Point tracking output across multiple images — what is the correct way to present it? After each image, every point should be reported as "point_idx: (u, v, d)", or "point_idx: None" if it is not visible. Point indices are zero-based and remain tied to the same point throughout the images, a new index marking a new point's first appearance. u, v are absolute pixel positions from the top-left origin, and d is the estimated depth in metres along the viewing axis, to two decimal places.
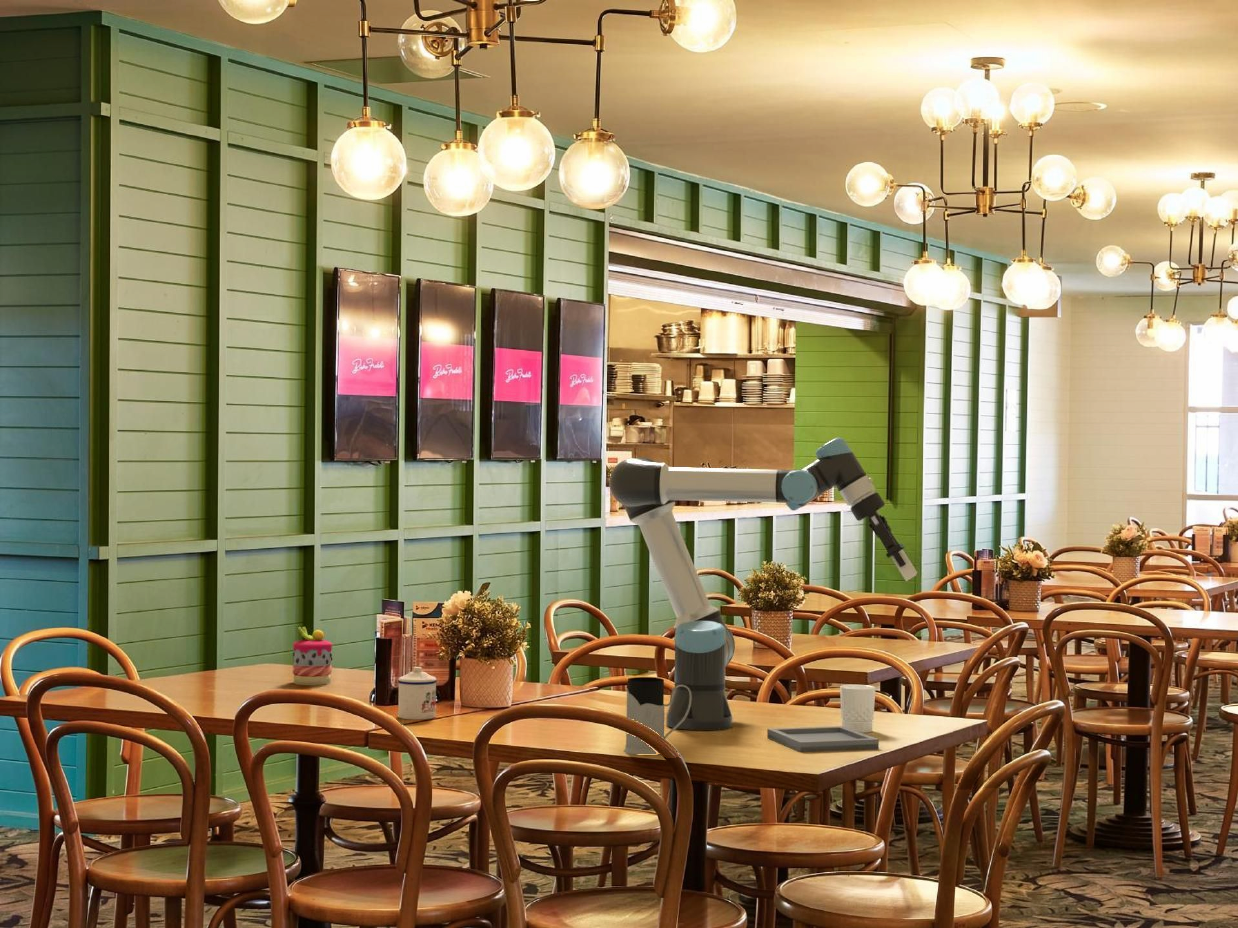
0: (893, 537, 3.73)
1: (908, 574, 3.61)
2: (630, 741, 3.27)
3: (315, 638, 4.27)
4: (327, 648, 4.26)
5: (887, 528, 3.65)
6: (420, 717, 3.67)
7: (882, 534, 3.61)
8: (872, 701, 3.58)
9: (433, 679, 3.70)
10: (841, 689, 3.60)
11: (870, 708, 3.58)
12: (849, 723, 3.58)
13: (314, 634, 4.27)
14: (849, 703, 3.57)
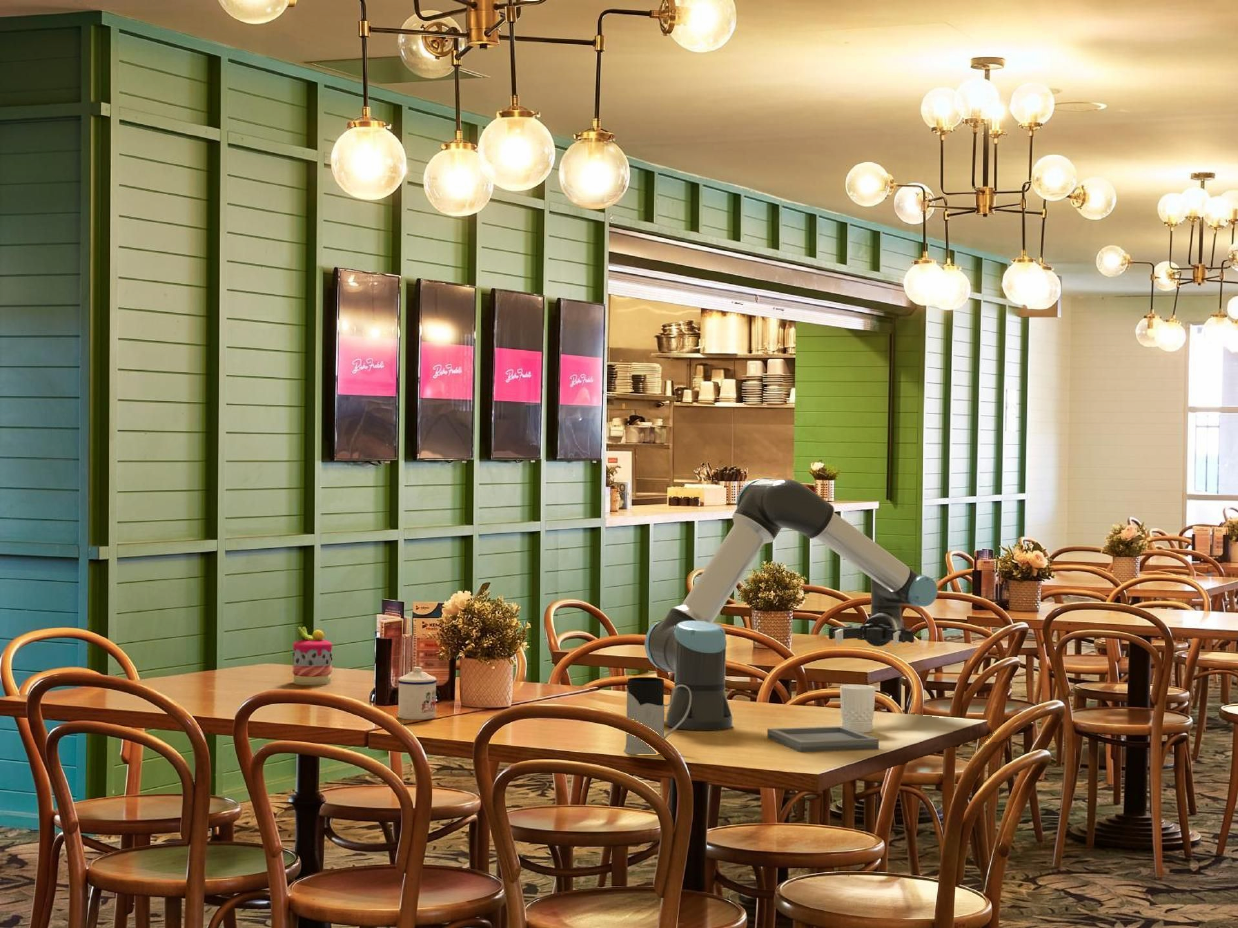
0: (853, 637, 3.81)
1: (897, 638, 3.68)
2: (630, 741, 3.27)
3: (315, 638, 4.27)
4: (327, 648, 4.26)
5: (891, 639, 3.80)
6: (420, 717, 3.67)
7: None
8: (872, 701, 3.58)
9: (433, 679, 3.70)
10: (841, 689, 3.60)
11: (870, 708, 3.58)
12: (849, 723, 3.58)
13: (314, 634, 4.27)
14: (849, 703, 3.57)
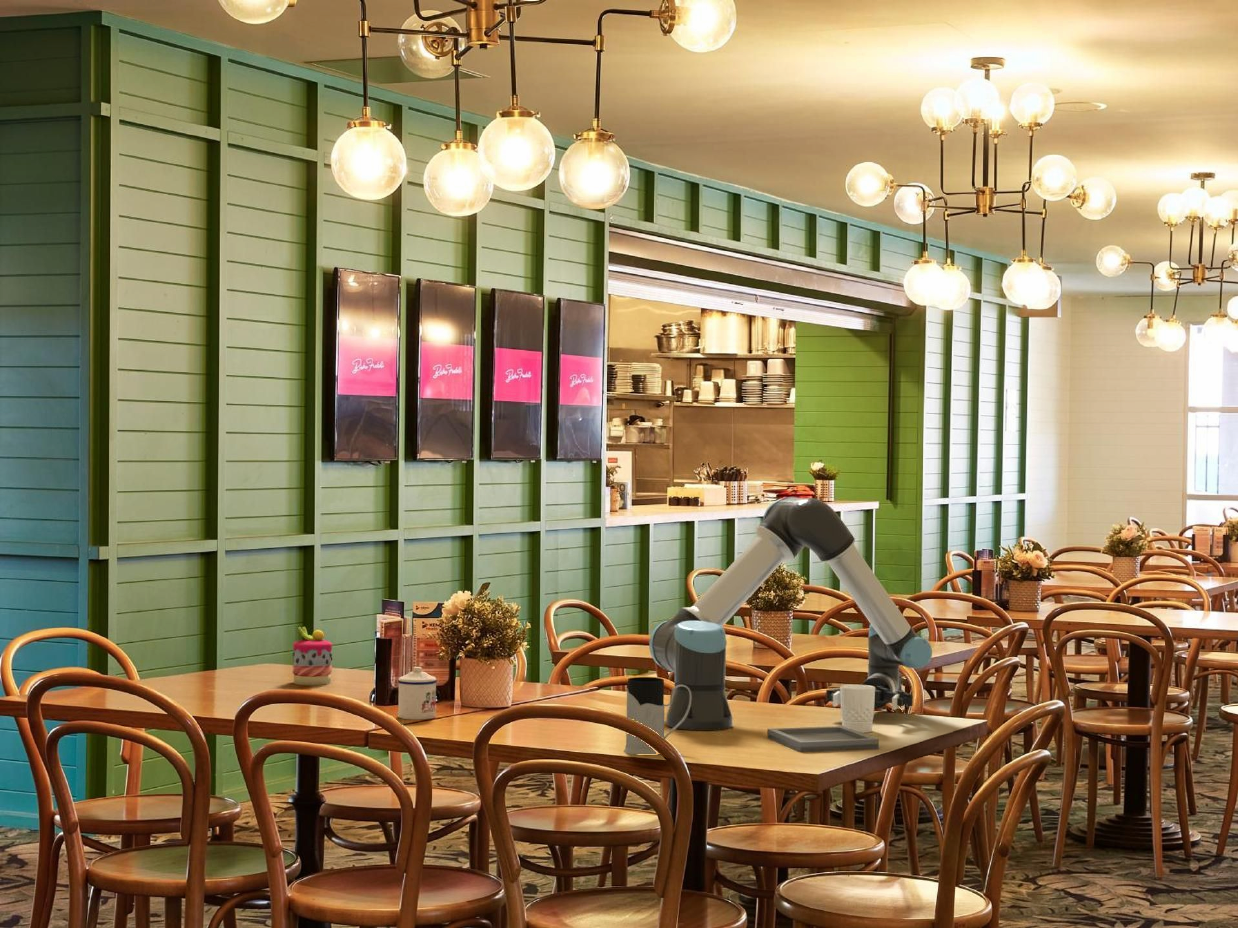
0: None
1: (895, 702, 3.64)
2: (630, 741, 3.27)
3: (315, 638, 4.27)
4: (327, 648, 4.26)
5: None
6: (420, 717, 3.67)
7: None
8: (872, 701, 3.58)
9: (433, 679, 3.70)
10: (841, 689, 3.60)
11: (870, 708, 3.58)
12: (849, 723, 3.58)
13: (314, 634, 4.27)
14: (849, 703, 3.57)
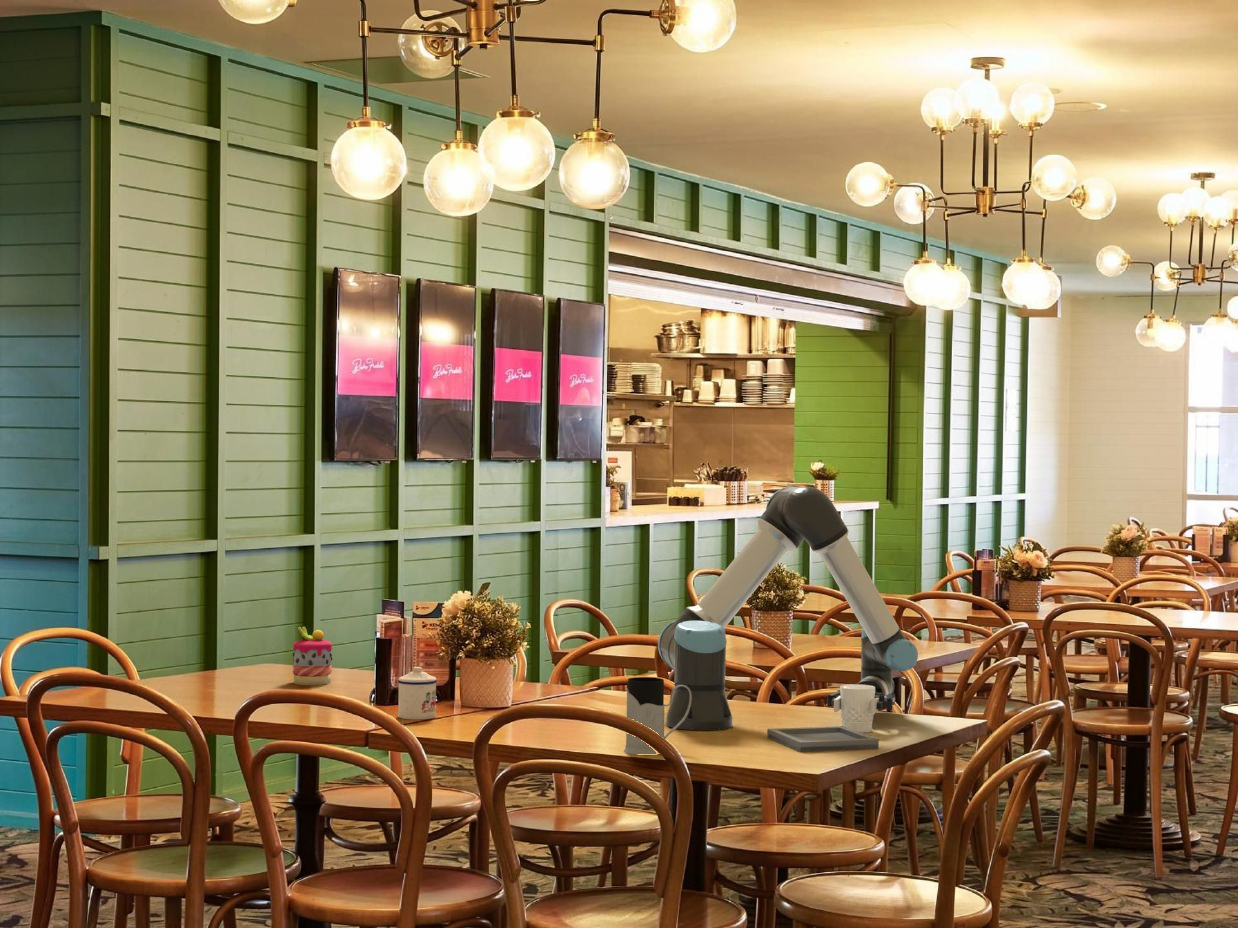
0: None
1: (874, 706, 3.55)
2: (630, 741, 3.27)
3: (315, 638, 4.27)
4: (327, 648, 4.26)
5: None
6: (420, 717, 3.67)
7: None
8: None
9: (433, 679, 3.70)
10: (841, 689, 3.60)
11: (870, 708, 3.58)
12: (849, 723, 3.58)
13: (314, 634, 4.27)
14: (849, 702, 3.57)
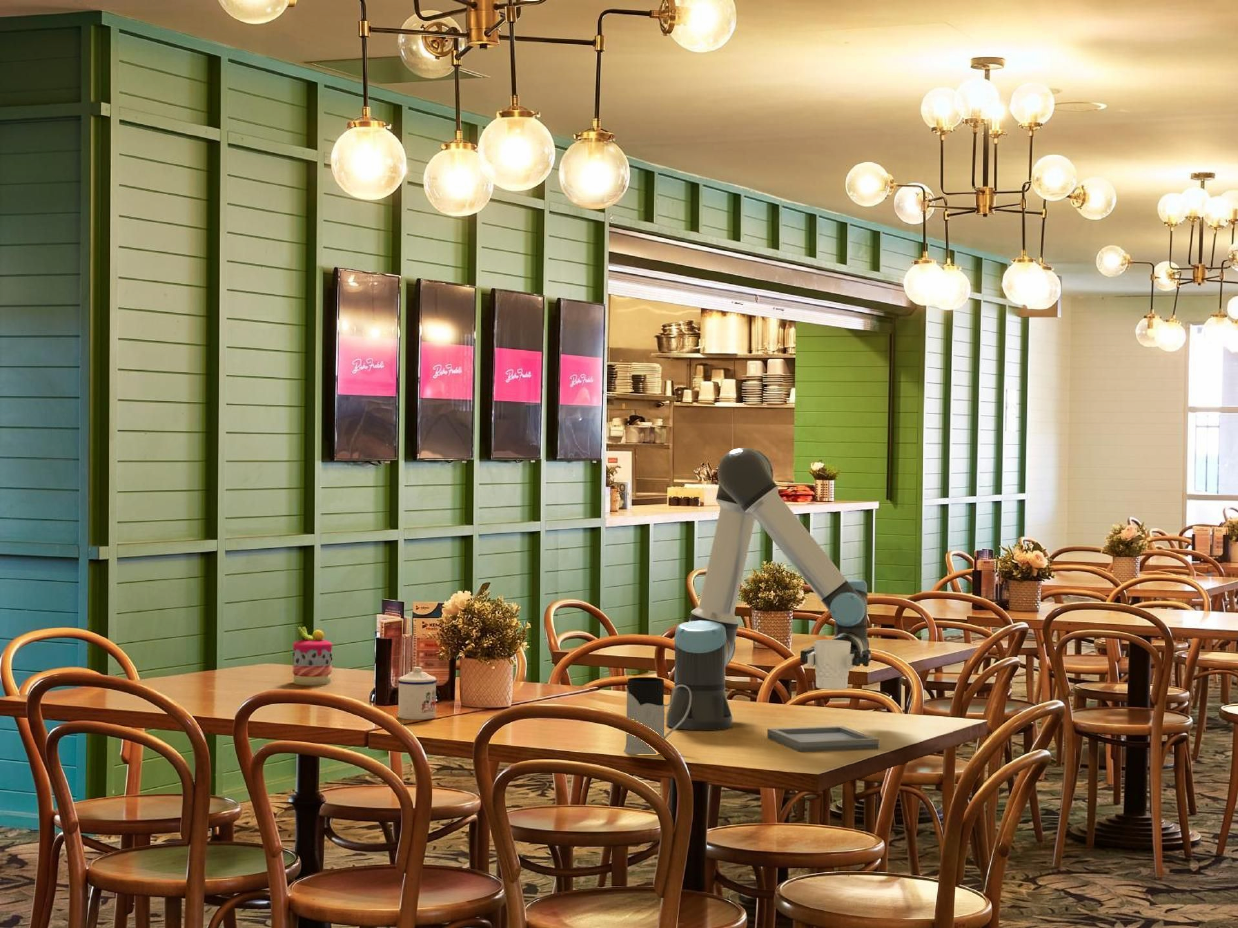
0: None
1: (850, 662, 3.40)
2: (630, 741, 3.27)
3: (315, 638, 4.27)
4: (327, 648, 4.26)
5: None
6: (420, 717, 3.67)
7: None
8: None
9: (433, 679, 3.70)
10: (815, 644, 3.44)
11: (845, 664, 3.42)
12: (823, 680, 3.42)
13: (314, 634, 4.27)
14: (824, 658, 3.41)
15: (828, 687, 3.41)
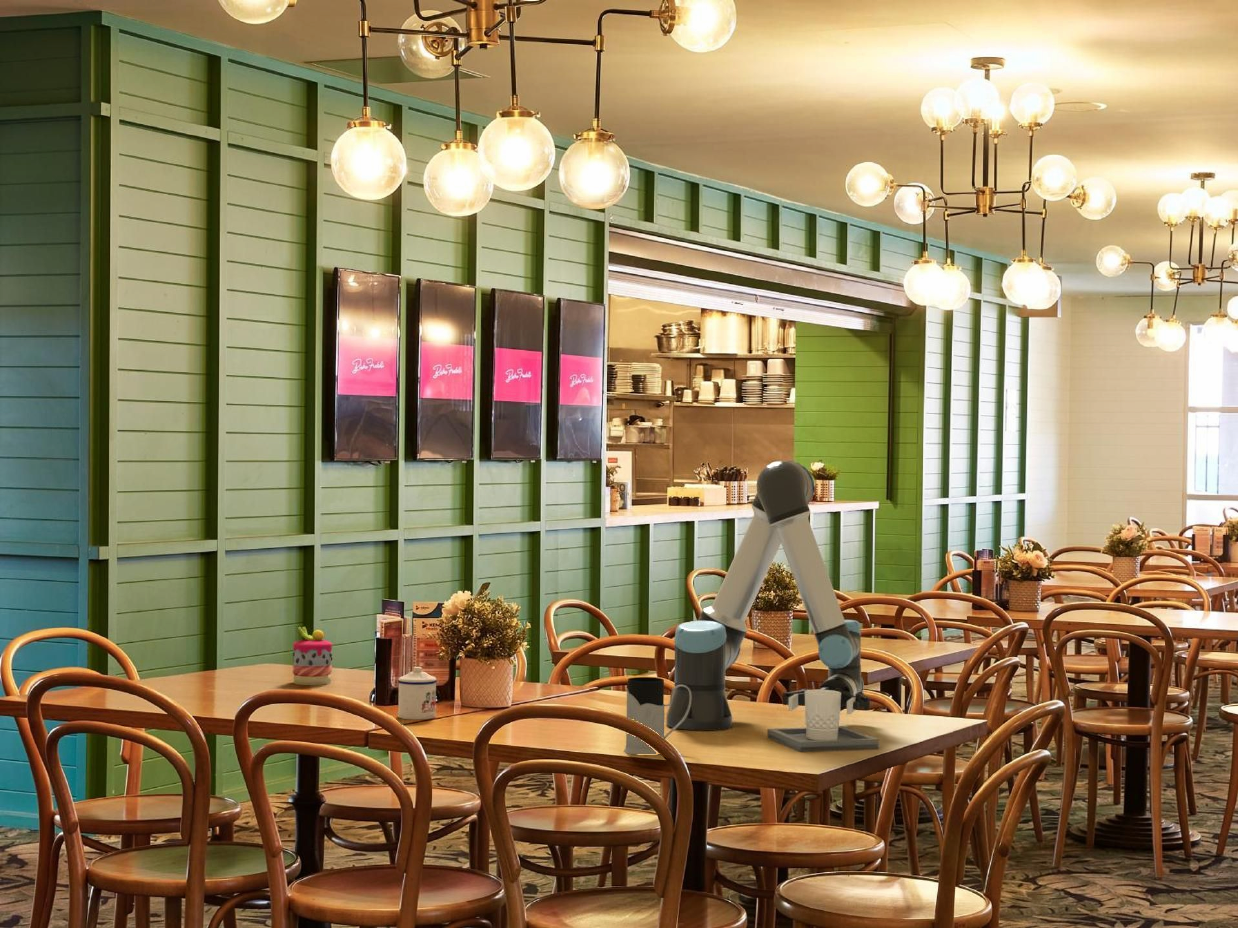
0: None
1: (851, 706, 3.38)
2: (630, 741, 3.27)
3: (315, 638, 4.27)
4: (327, 648, 4.26)
5: None
6: (420, 717, 3.67)
7: None
8: (838, 707, 3.41)
9: (433, 679, 3.70)
10: (805, 694, 3.42)
11: (835, 715, 3.40)
12: (813, 731, 3.40)
13: (314, 634, 4.27)
14: (813, 709, 3.40)
15: (818, 738, 3.40)
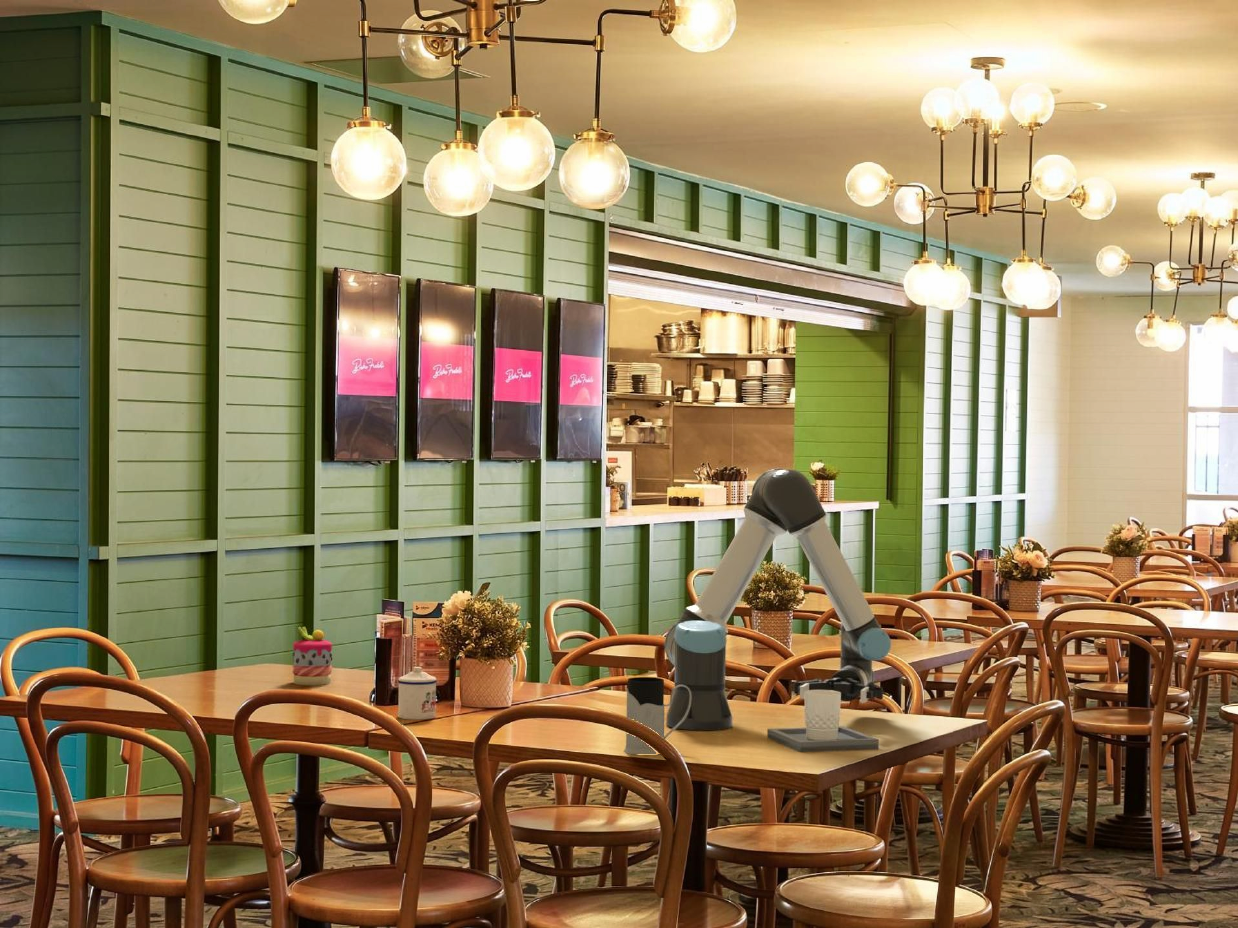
0: None
1: (864, 695, 3.51)
2: (630, 741, 3.27)
3: (315, 638, 4.27)
4: (327, 648, 4.26)
5: None
6: (420, 717, 3.67)
7: None
8: (838, 707, 3.41)
9: (433, 679, 3.70)
10: (805, 695, 3.42)
11: (835, 715, 3.40)
12: (813, 731, 3.40)
13: (314, 634, 4.27)
14: (813, 709, 3.40)
15: (818, 738, 3.40)
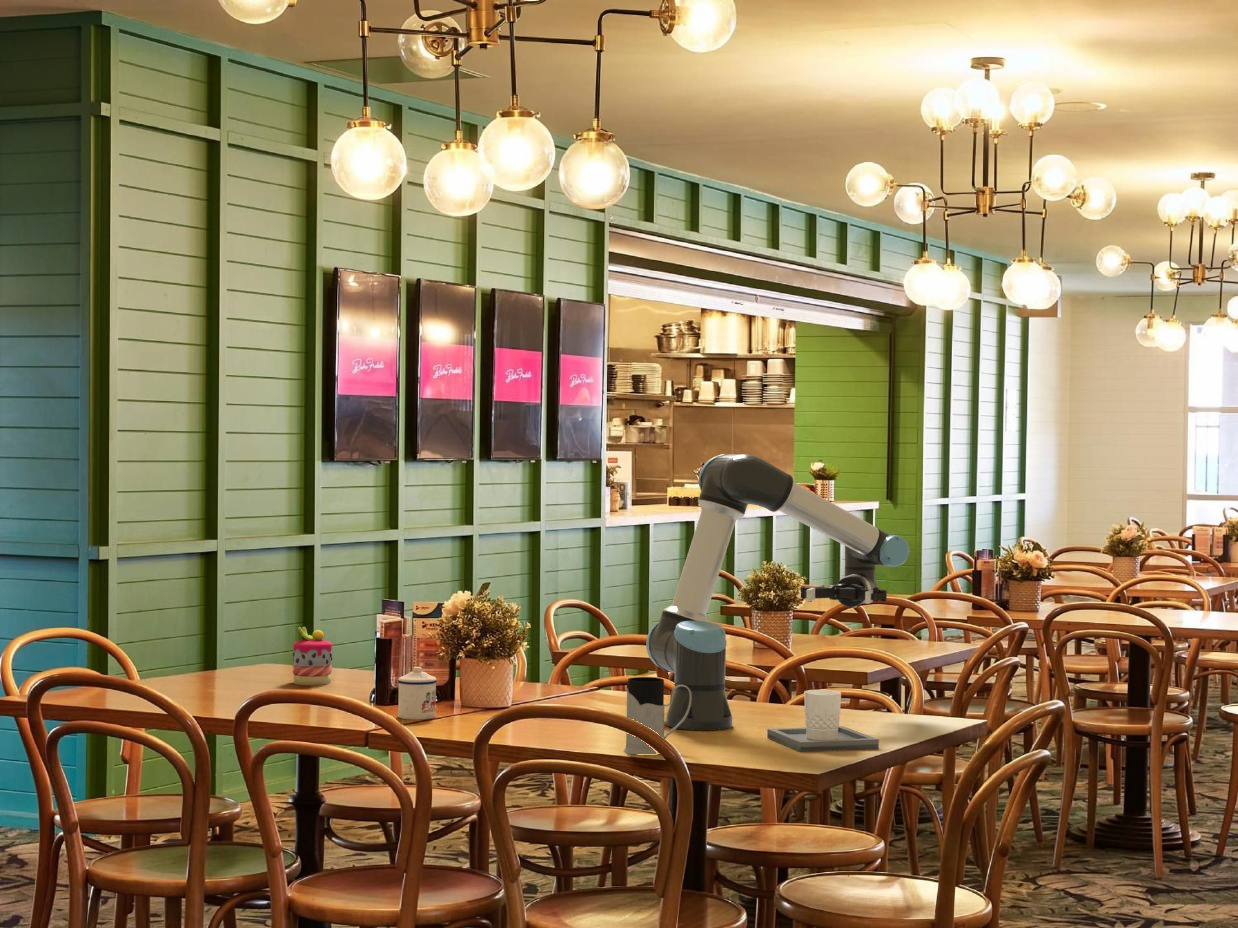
0: (825, 597, 3.76)
1: (869, 596, 3.64)
2: (630, 741, 3.27)
3: (315, 638, 4.27)
4: (327, 648, 4.26)
5: None
6: (420, 717, 3.67)
7: None
8: (838, 707, 3.41)
9: (433, 679, 3.70)
10: (805, 695, 3.42)
11: (835, 715, 3.40)
12: (813, 731, 3.40)
13: (314, 634, 4.27)
14: (813, 709, 3.40)
15: (818, 738, 3.40)
